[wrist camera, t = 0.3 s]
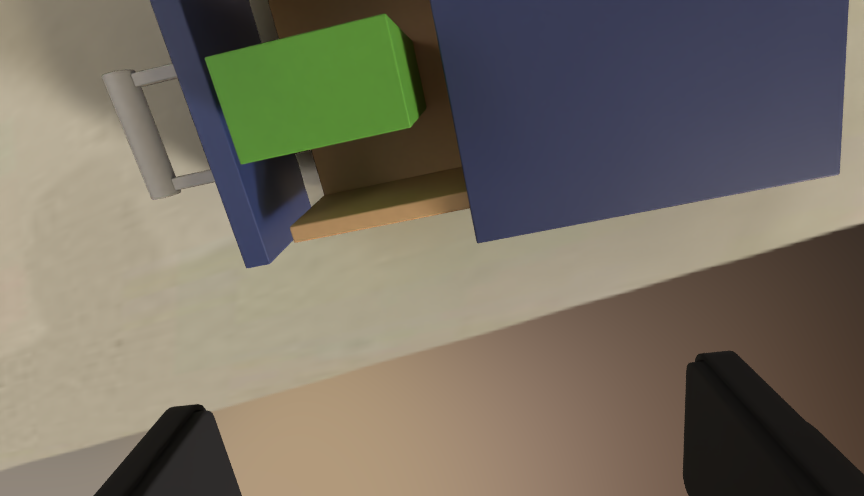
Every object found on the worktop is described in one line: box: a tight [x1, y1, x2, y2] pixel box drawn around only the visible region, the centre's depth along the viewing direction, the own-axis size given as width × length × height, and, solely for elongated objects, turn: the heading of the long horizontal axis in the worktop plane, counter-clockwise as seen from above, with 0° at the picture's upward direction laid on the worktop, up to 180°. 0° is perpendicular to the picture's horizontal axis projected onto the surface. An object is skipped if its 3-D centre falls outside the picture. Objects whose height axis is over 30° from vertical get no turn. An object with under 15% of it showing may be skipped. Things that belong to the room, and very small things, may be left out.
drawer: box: [102, 0, 470, 268], centre depth 24 cm, size 18×13×8 cm
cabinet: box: [430, 0, 849, 243], centre depth 22 cm, size 15×15×10 cm
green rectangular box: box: [205, 14, 426, 164], centre depth 21 cm, size 4×6×11 cm, turn 102°
